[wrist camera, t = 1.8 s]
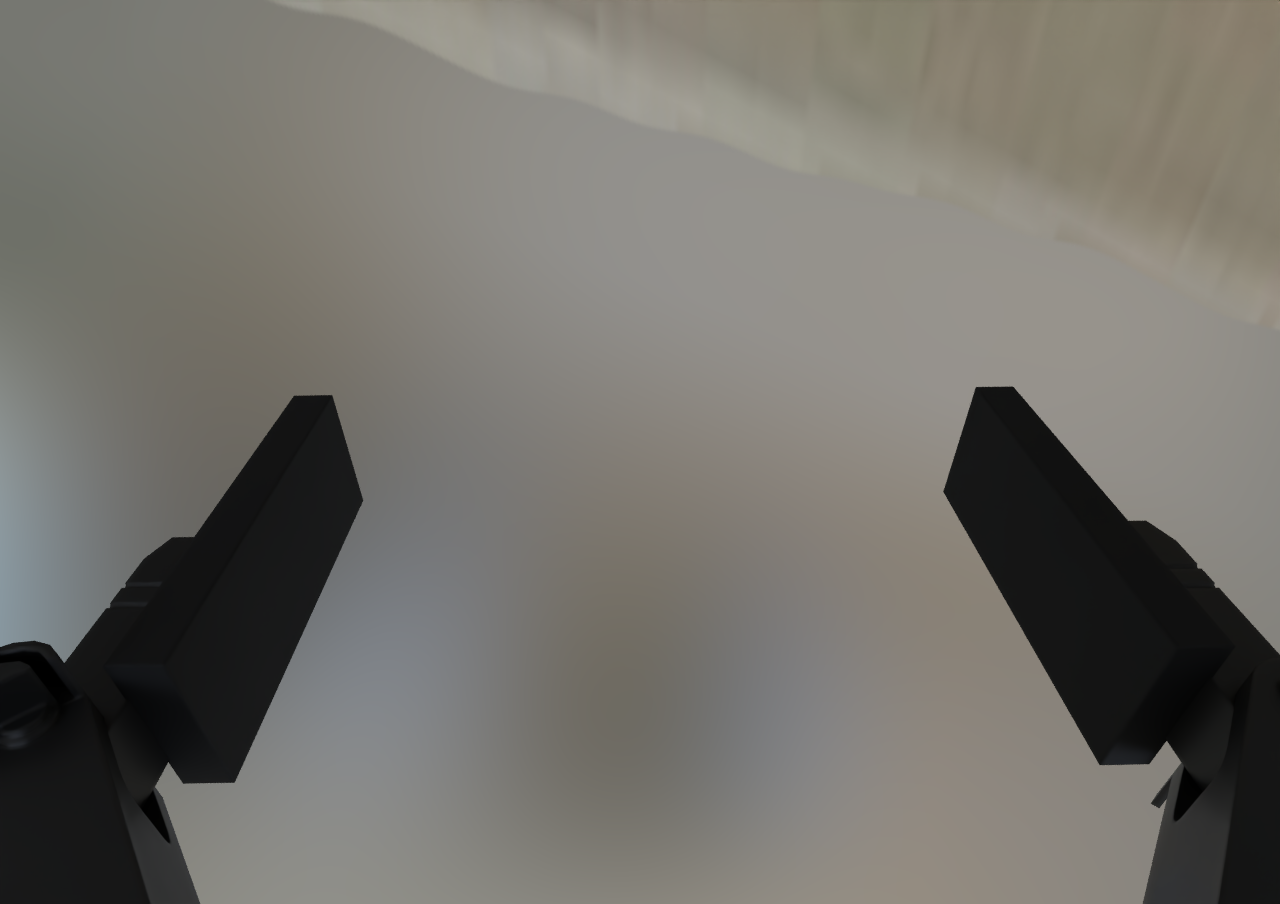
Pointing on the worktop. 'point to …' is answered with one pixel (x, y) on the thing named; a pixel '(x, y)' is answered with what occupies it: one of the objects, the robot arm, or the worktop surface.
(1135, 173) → the worktop surface
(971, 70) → the worktop surface
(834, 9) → the worktop surface
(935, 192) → the worktop surface
